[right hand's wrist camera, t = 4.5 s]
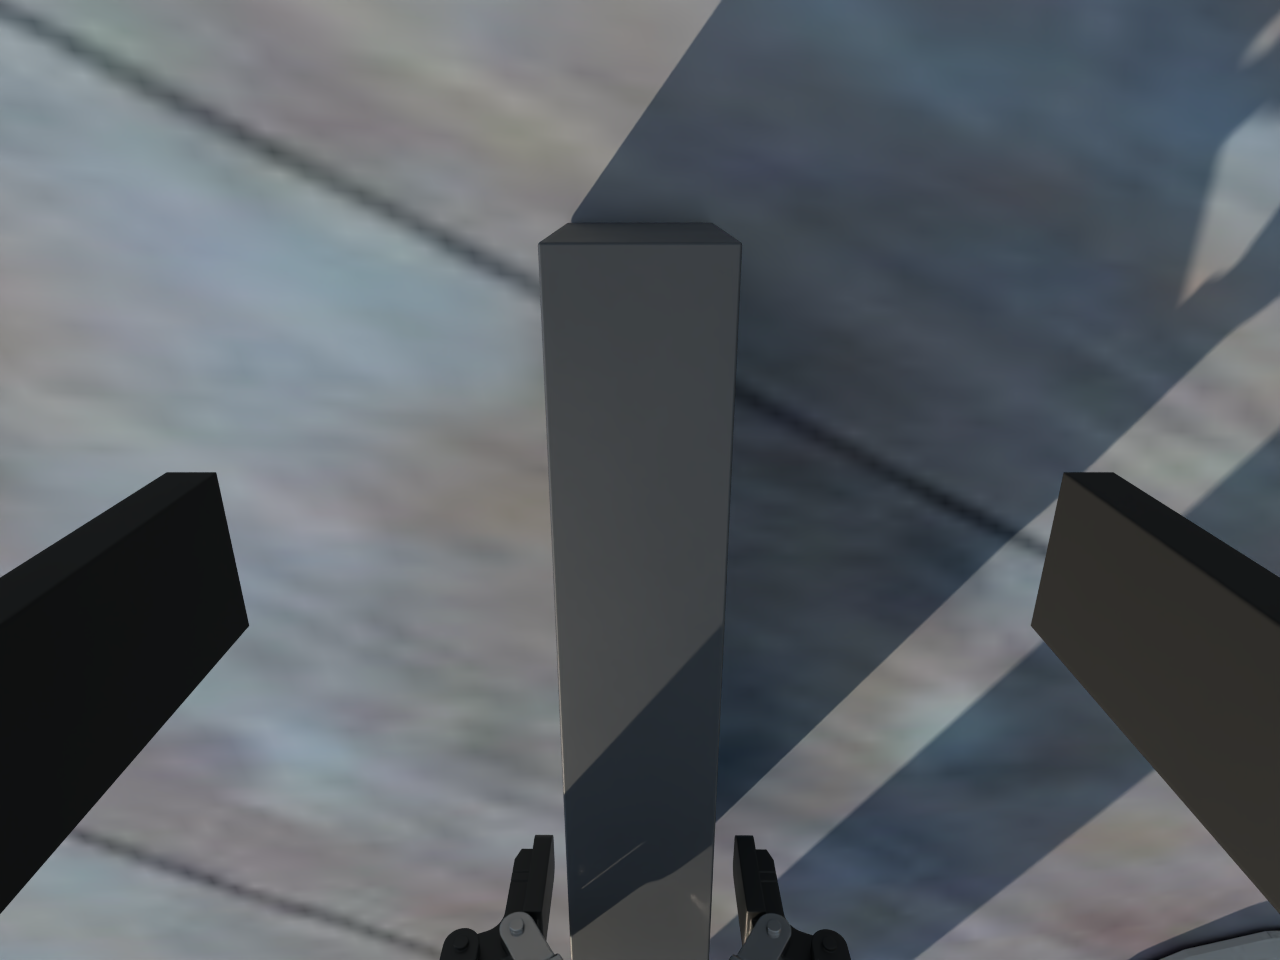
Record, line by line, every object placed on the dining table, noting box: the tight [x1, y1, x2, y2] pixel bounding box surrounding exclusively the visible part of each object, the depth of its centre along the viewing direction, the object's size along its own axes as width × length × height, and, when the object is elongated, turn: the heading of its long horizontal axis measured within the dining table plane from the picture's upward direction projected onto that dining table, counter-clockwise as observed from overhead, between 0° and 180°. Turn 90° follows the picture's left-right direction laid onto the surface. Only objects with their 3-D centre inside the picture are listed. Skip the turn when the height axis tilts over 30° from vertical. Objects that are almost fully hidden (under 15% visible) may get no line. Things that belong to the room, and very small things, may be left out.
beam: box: [538, 223, 742, 960], centre depth 28 cm, size 28×5×8 cm, turn 0°
